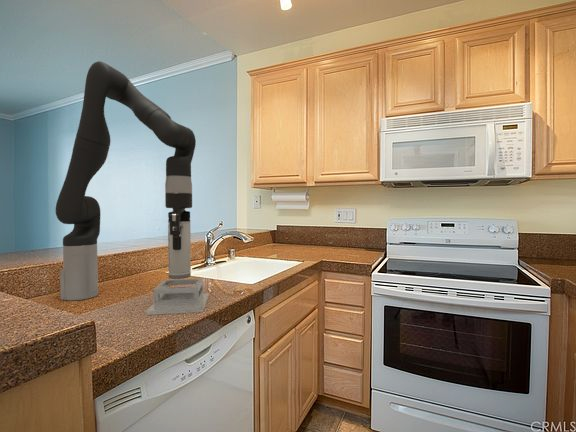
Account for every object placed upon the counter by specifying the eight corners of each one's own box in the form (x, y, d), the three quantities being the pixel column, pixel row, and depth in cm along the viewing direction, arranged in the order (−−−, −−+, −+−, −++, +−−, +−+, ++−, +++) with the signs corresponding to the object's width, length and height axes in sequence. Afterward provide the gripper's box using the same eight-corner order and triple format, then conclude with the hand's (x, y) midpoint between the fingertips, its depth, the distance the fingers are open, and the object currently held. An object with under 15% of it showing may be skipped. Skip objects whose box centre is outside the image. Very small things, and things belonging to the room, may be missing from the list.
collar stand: (145, 315, 80) (145, 291, 80) (160, 298, 95) (160, 278, 95) (202, 311, 82) (202, 288, 82) (208, 296, 97) (208, 276, 97)
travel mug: (193, 274, 92) (193, 210, 92) (187, 279, 85) (186, 210, 85) (173, 274, 92) (172, 210, 91) (165, 279, 85) (164, 210, 85)
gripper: (171, 193, 94) (171, 245, 95) (158, 190, 80) (159, 252, 80) (195, 193, 95) (196, 245, 96) (187, 190, 81) (188, 251, 82)
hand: (179, 248), depth 88 cm, fingers closed on travel mug, 6 cm apart
